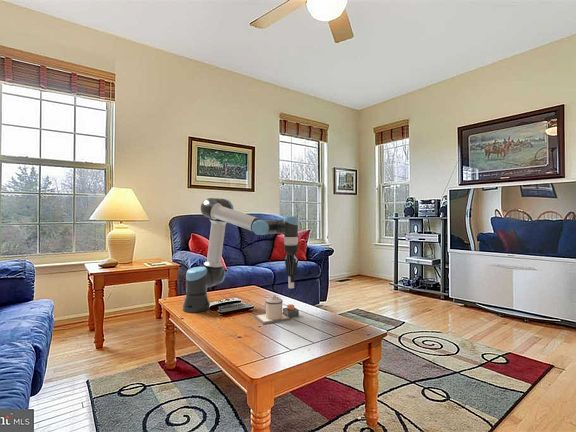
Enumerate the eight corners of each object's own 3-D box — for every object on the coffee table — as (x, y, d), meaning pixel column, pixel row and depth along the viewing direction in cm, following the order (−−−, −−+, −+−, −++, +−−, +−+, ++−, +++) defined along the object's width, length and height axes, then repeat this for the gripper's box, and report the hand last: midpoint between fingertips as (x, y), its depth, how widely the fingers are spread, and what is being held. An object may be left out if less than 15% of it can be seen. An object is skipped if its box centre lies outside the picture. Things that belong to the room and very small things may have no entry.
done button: (286, 310, 175) (286, 304, 175) (292, 309, 177) (292, 304, 177) (289, 312, 172) (289, 306, 172) (295, 311, 174) (295, 305, 174)
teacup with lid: (286, 317, 168) (286, 295, 168) (272, 321, 162) (272, 298, 162) (271, 312, 177) (271, 291, 177) (258, 315, 171) (258, 294, 171)
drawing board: (254, 316, 172) (254, 315, 172) (280, 312, 179) (280, 311, 179) (263, 324, 160) (263, 322, 160) (290, 319, 167) (290, 318, 167)
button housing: (282, 314, 176) (282, 308, 176) (293, 313, 179) (293, 306, 179) (288, 318, 170) (288, 311, 170) (298, 316, 173) (298, 309, 173)
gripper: (303, 245, 170) (303, 289, 170) (291, 243, 182) (291, 284, 182) (290, 245, 167) (290, 291, 167) (279, 243, 178) (279, 286, 178)
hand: (291, 287), depth 174 cm, fingers closed
